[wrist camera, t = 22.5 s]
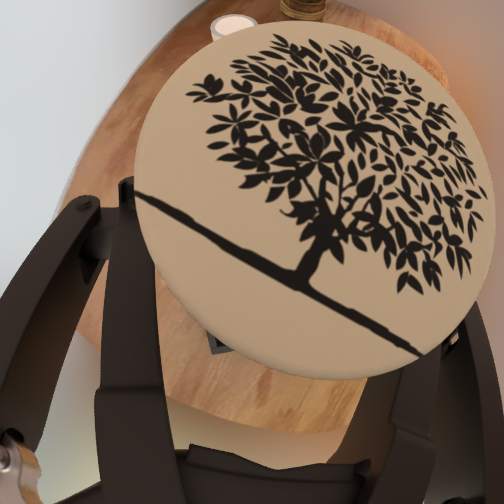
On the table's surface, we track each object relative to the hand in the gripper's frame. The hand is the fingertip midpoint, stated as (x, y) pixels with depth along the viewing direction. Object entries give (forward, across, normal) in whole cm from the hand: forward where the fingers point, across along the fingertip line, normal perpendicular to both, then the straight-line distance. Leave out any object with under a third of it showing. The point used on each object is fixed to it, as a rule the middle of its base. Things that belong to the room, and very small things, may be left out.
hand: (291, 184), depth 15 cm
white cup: (+34, -11, +6) cm, 36 cm away
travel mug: (+3, 0, -8) cm, 8 cm away
